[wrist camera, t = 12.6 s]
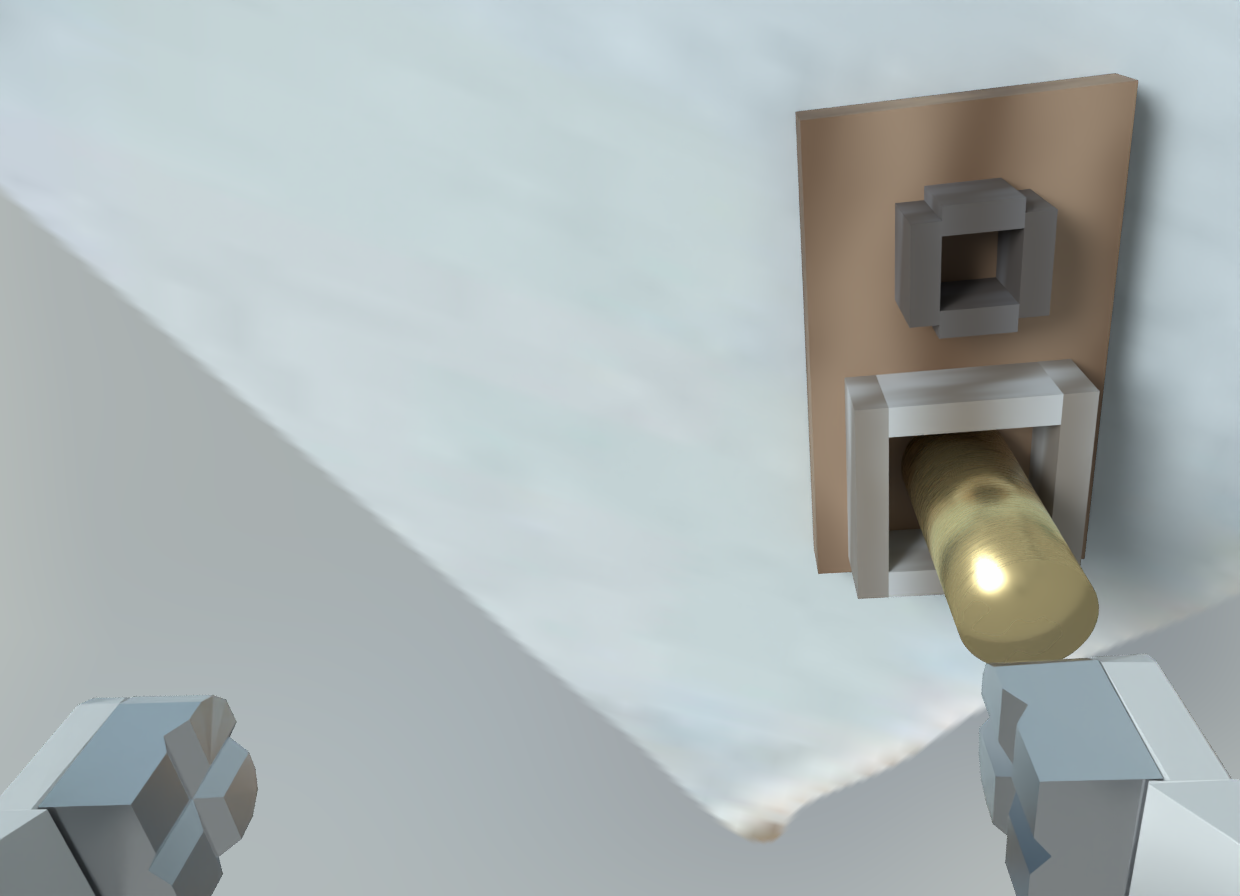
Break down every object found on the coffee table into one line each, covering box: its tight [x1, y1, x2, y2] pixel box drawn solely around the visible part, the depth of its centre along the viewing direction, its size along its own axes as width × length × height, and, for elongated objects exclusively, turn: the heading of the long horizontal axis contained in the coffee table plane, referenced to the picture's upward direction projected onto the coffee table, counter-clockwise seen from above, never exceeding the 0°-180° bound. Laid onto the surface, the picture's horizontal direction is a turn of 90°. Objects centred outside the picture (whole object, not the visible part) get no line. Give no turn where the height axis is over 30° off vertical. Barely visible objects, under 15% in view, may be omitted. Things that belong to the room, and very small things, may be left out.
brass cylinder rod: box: [901, 430, 1099, 663], centre depth 34 cm, size 4×4×10 cm
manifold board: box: [796, 73, 1138, 599], centre depth 36 cm, size 11×19×5 cm, turn 7°
